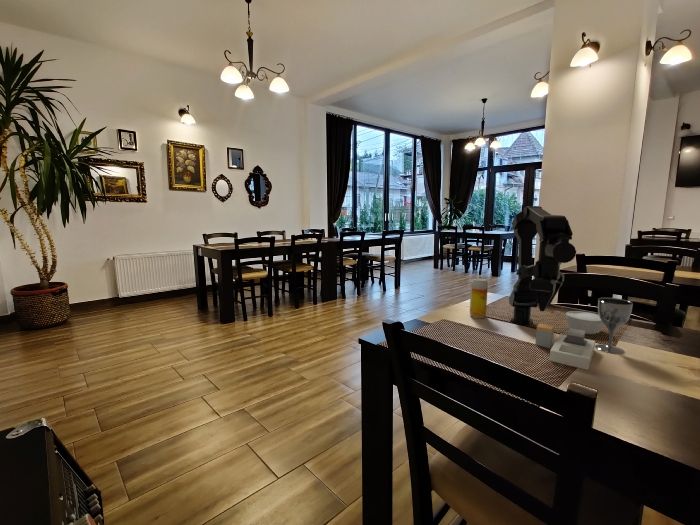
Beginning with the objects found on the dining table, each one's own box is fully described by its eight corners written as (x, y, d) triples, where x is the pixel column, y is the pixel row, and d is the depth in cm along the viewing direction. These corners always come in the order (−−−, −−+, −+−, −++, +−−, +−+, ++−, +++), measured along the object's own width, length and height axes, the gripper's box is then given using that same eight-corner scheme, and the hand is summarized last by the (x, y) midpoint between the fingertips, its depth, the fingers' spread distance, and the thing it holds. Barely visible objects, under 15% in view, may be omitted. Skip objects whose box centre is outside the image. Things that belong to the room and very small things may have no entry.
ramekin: (579, 323, 124) (581, 309, 123) (611, 333, 114) (613, 318, 113) (557, 326, 121) (558, 312, 120) (587, 337, 110) (589, 322, 109)
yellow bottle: (487, 319, 129) (489, 281, 127) (470, 318, 131) (472, 280, 128) (484, 314, 135) (486, 278, 133) (468, 313, 136) (470, 277, 134)
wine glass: (619, 345, 103) (625, 298, 101) (631, 356, 96) (638, 305, 93) (589, 342, 106) (594, 296, 103) (598, 352, 98) (604, 303, 96)
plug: (538, 340, 108) (539, 323, 107) (552, 344, 105) (554, 325, 104) (535, 344, 105) (536, 326, 104) (550, 348, 102) (551, 329, 101)
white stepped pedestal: (559, 343, 106) (560, 324, 105) (594, 350, 100) (596, 330, 99) (549, 360, 94) (551, 339, 93) (588, 370, 88) (590, 348, 87)
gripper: (527, 252, 113) (524, 297, 115) (511, 259, 99) (508, 309, 101) (566, 254, 106) (562, 302, 108) (555, 262, 92) (550, 317, 94)
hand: (545, 307), depth 103 cm, fingers open, 9 cm apart
